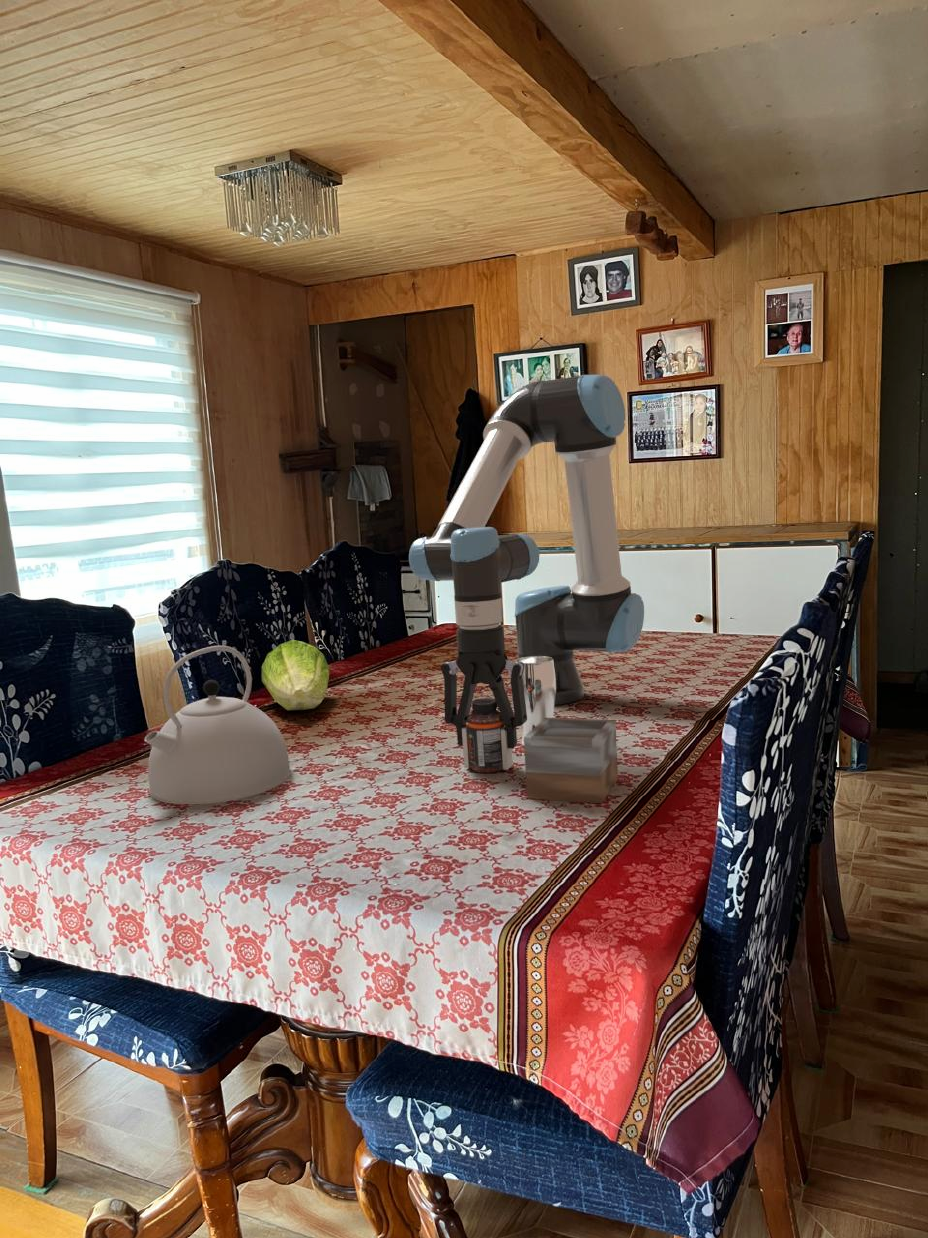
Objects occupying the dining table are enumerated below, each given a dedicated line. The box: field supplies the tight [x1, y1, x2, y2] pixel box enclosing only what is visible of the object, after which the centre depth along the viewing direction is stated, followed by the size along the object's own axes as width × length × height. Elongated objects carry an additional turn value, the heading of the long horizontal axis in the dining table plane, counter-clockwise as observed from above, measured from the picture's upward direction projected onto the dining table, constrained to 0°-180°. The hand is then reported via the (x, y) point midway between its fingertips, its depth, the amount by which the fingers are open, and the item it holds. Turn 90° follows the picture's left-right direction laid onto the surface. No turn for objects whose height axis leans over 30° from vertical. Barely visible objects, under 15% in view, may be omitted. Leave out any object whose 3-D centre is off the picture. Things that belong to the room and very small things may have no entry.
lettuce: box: [261, 639, 330, 711], centre depth 200 cm, size 14×24×15 cm
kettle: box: [144, 645, 292, 805], centre depth 152 cm, size 25×23×22 cm
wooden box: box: [524, 717, 619, 804], centre depth 138 cm, size 11×11×9 cm
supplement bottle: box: [466, 697, 505, 774], centre depth 151 cm, size 6×6×11 cm
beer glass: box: [515, 656, 556, 746], centre depth 163 cm, size 7×7×15 cm
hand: (488, 765), depth 151 cm, fingers closed on supplement bottle, 6 cm apart
